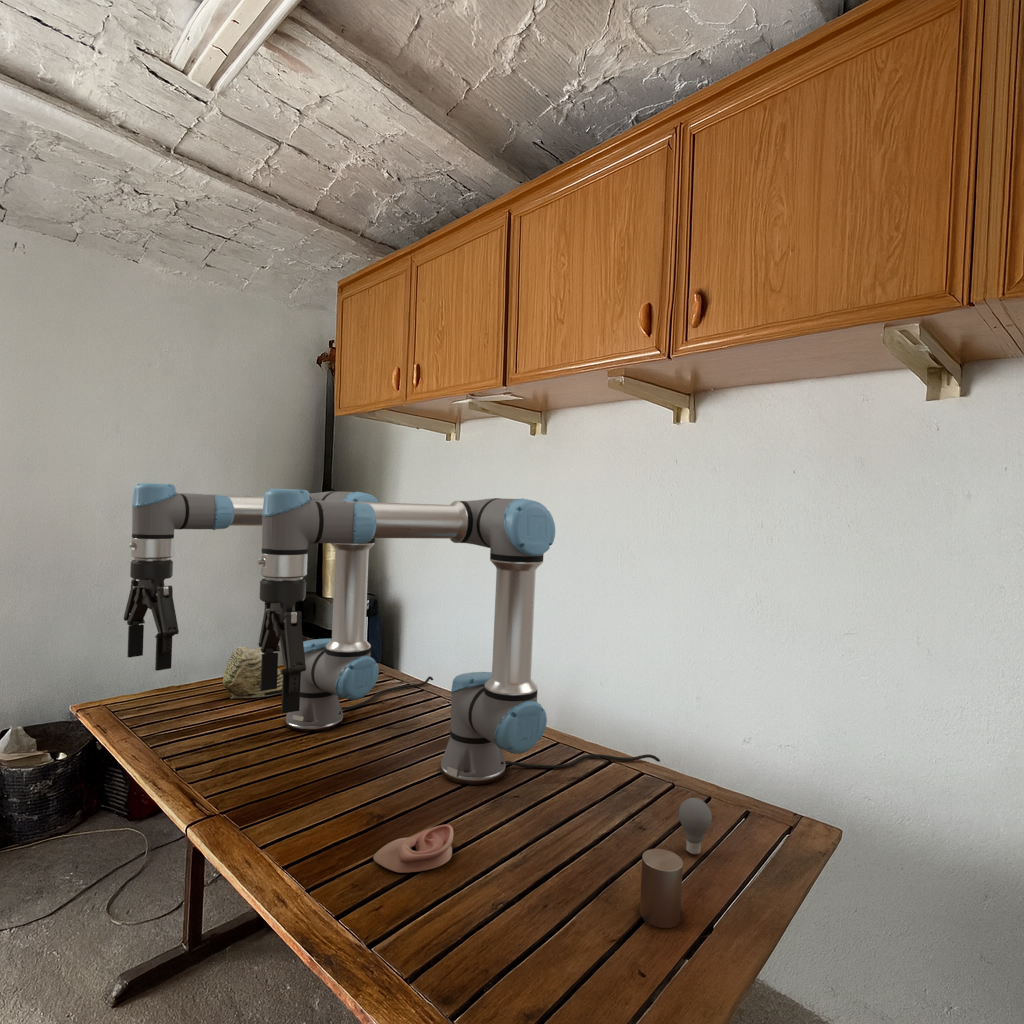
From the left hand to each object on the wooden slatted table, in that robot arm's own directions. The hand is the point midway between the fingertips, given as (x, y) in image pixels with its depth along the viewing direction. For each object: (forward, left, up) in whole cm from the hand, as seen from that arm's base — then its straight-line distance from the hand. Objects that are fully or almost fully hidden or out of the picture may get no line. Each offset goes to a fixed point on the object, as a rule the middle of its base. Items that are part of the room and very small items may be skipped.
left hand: (148, 662), depth 129 cm
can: (-38, +96, -28) cm, 107 cm away
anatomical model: (-23, +56, -28) cm, 67 cm away
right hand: (-6, +39, 0) cm, 39 cm away
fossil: (-50, -47, -28) cm, 74 cm away
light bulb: (-59, +93, -28) cm, 113 cm away
